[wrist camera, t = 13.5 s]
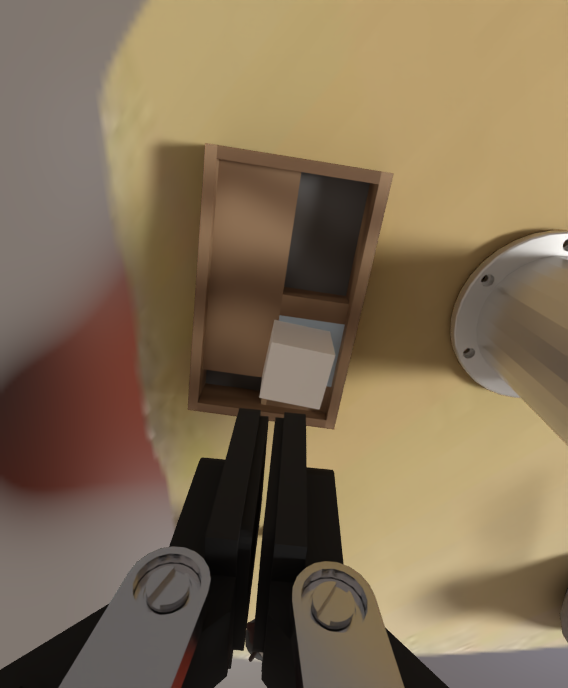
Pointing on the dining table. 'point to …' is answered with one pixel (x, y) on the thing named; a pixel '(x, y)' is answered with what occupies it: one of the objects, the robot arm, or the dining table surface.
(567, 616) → the coffee pot
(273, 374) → the block
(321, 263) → the tray
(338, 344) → the bay
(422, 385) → the dining table surface
